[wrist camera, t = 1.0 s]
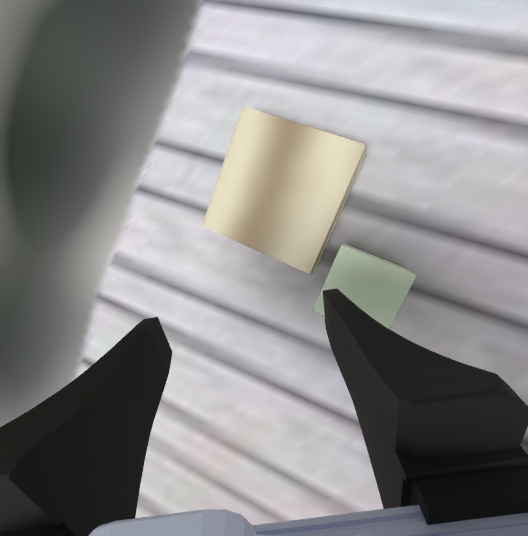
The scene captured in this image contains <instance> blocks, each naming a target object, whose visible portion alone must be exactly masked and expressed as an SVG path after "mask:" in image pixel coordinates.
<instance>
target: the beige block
mask: <svg viewBox="0 0 528 536" xmlns="http://www.w3.org/2000/svg"><path fill="white" fill-rule="evenodd" d="M365 156H366V144H363V143H359V142H356V141H353V140H350V139H347V138H343V137H340V136H337V135H334V134H331V133H327V132H324V131H321V130H318V129H315V128H311V127H308V126H305V125H302V124H299V123H295V122H292V121H289V120H286V119H283V118H279V117H276V116H273V115H270V114H267V113H263V112H260V111H257V110H254V109H251V108H247V107H244V106H243V107H242V110H241V113H240V116H239V119H238V122H237V125H236V128H235V131H234V134H233V137H232V140H231V143H230V145H229V148H228V151H227V154H226V157H225V160H224V163H223V166H222V169H221V172H220V175H219V178H218V181H217V184H216V187H215V189H214V192H213V195H212V198H211V201H210V204H209V207H208V210H207V213H206V216H205V219H204V222H203V225H202V226H203V227H206V228H208V229H210V230H212V231H214V232H217V233H219V234H221V235H223V236H226V237H228V238H230V239H232V240H234V241H237V242H239V243H241V244H243V245H246V246H248V247H250V248H252V249H254V250H257V251H259V252H261V253H263V254H265V255H268V256H270V257H272V258H274V259H277V260H279V261H281V262H283V263H285V264H288V265H290V266H292V267H294V268H297V269H299V270H301V271H303V272H305V273H308V274H311V273H313V272H314V271H316V268H317V266H318V264H319V261H320V259H321V257H322V255H323V252H324V250H325V248H326V245H327V243H328V241H329V239H330V236H331V234H332V232H333V229H334V227H335V225H336V223H337V220H338V218H339V216H340V213H341V211H342V209H343V207H344V204H345V202H346V200H347V198H348V195H349V193H350V191H351V188H352V186H353V184H354V182H355V179H356V177H357V175H358V172H359V170H360V168H361V166H362V163H363V161H364V159H365Z"/></svg>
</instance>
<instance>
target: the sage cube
mask: <svg viewBox="0 0 528 536" xmlns="http://www.w3.org/2000/svg"><path fill="white" fill-rule="evenodd" d="M416 276H417V275H415V274H414V273H412V272H411V271H409V270H408V269H406V268H404V267H401V266H399V265H396V264H394V263H391V262H389V261H386V260H384V259H381V258H379V257H377V256H374V255H372V254H369V253H367V252H364V251H362V250H359V249H357V248H354V247H352V246H349V245H347V244H343V245H341V247H340V249H339V251H338V253H337V256H336V258H335V260H334V262H333V265H332V267H331V269H330V271H329V273H328V276H327V278H326V280H325V282H324V285H323V287H322V289H321V291H320V294H319V296H318V298H317V300H316V303H315V305H314V307H313V309H312V311H314V312H316V313H318V314H320V315H322V316H324V317H325V313H324V302H323V290H330V289H336V288H337V289H338V290H340V291H341V292H342V293H343V294H344V295H345V296H346V297H347V298H349V299H350V300H351V301H352V302H353V303H354V304H356V305H357V306H358V307H359V308H360V309H362V310H363V311H364V312H365V313H367V314H368V315H369V316H371V317H372V318H373V319H375V320H376V321H377V322H379V323H380V324H382V325H383V326H385V327H386V328H388V329H390V327H391V325H392V323H393V321H394V319H395V317H396V315H397V313H398V311H399V309H400V307H401V305H402V303H403V301H404V300H405V298H406V296H407V294H408V292H409V290H410V288H411V286H412V284H413V282H414V280H415V278H416Z"/></svg>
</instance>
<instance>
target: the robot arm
mask: <svg viewBox="0 0 528 536" xmlns="http://www.w3.org/2000/svg"><path fill="white" fill-rule="evenodd" d="M323 302H324V313H325V324H326V331H327V334H328V338H329V342H330V345H331V349H332V351H333V354H334V356H335V359H336V361H337V364H338V366H339V368H340V371H341V373H342V376H343V378H344V380H345V383H346V385H347V388H348V390H349V393H350V395H351V398H352V401H353V403H354V406H355V410H356V413H357V416H358V419H359V423H360V426H361V429H362V433H363V436H364V440H365V443H366V446H367V450H368V453H369V457H370V460H371V464H372V468H373V471H374V475H375V478H376V482H377V485H378V489H379V493H380V496H381V500H382V504H383V508H384V509H381V510H373V511H365V512H357V513H349V514H341V515H333V516H325V517H317V518H309V519H301V520H292V521H284V522H276V523H268V524H260V525H251V524H250V523H249V522H248V521H247V520H246V519H245V518H244V517H243V516H242V515H241V514H238V513H234V512H231V511H228V510H197V511H190V512H182V513H174V514H166V515H158V516H150V517H143V518H135V515H136V508H137V502H138V495H139V489H140V482H141V477H142V472H143V466H144V461H145V455H146V451H147V446H148V441H149V436H150V432H151V429H152V425H153V421H154V418H155V415H156V412H157V409H158V406H159V403H160V400H161V397H162V393H163V390H164V387H165V384H166V381H167V377H168V374H169V369H170V363H171V357H172V350H171V348H170V345H169V343H168V341H167V338H166V336H165V334H164V331H163V329H162V326H161V324H160V322H159V319H158V317H155V318H148V319H144V320H142V321H141V322H140V323H139V324H138V325H136V326H135V327H134V328H133V329H132V330H131V331H130V332H129V333H128V334H127V335H126V336H125V337H123V338H122V339H121V340H120V341H119V342H118V343H117V344H116V345H115V346H114V347H113V348H112V349H110V350H109V351H108V352H107V353H106V354H105V355H104V356H103V357H101V358H100V359H99V360H98V361H97V362H96V363H94V364H93V365H92V366H91V367H90V368H89V369H87V370H86V371H85V372H84V373H82V374H81V375H80V376H79V377H77V378H76V379H75V380H73V381H72V382H71V383H69V384H68V385H67V386H65V387H64V388H63V389H61V390H60V391H58V392H57V393H55V394H54V395H52V396H51V397H49V398H48V399H46V400H45V401H43V402H42V403H40V404H39V405H37V406H36V407H34V408H32V409H31V410H29V411H28V412H26V413H24V414H23V415H21V416H19V417H18V418H16V419H14V420H12V421H11V422H9V423H7V424H5V425H4V426H2V427H0V536H528V455H527V453H526V452H525V451H524V450H523V448H522V447H521V446H520V444H521V441H522V439H523V436H524V434H525V431H526V429H527V426H528V406H527V405H526V404H525V403H524V402H523V401H522V400H521V399H520V397H519V396H518V395H517V394H516V393H515V392H514V391H513V390H512V389H511V387H510V386H509V385H508V384H506V383H505V382H504V381H503V380H502V379H501V378H500V377H499V376H498V375H497V374H495V373H491V372H488V371H485V370H482V369H479V368H476V367H472V366H469V365H466V364H463V363H460V362H457V361H455V360H452V359H449V358H447V357H444V356H442V355H439V354H437V353H435V352H432V351H430V350H428V349H426V348H423V347H421V346H419V345H417V344H415V343H413V342H411V341H409V340H407V339H405V338H403V337H402V336H400V335H398V334H396V333H395V332H393V331H391V330H390V329H388V328H386V327H385V326H383V325H382V324H380V323H379V322H377V321H376V320H375V319H373V318H372V317H371V316H369V315H368V314H367V313H365V312H364V311H363V310H362V309H360V308H359V307H358V306H357V305H356V304H354V303H353V302H352V301H351V300H350V299H349V298H347V297H346V296H345V295H344V294H343V293H342V292H341V291H340V290H338V289H337V288H336V289H330V290H323Z"/></svg>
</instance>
